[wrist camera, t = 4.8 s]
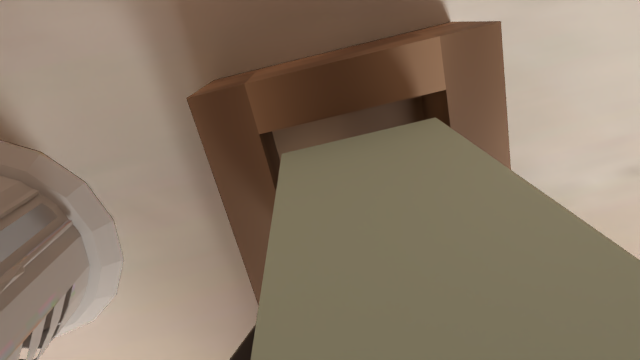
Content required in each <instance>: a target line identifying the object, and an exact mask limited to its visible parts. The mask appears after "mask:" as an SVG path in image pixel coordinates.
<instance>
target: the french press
mask: <svg viewBox="0 0 640 360" xmlns="http://www.w3.org/2000/svg"><path fill="white" fill-rule="evenodd" d="M123 261H124V258H123V255H122V251H121V247H120V243H119V239H118V235H117V231H116V228H115V224H114V220H113V219H112V217H111V216H110V215H109V213H108V212H107V211H106V209H105V208H104V207H103V205H102V204H101V203H100V201H99V200H98V199H97V197H96V196H95V195H94V193H93V192H92V191H91V189H90V188H89V187H88V185H87V184H86V183H85V182H84V181H83V180H81V179H80V178H78V177H77V176H75V175H74V174H72V173H71V172H69V171H68V170H67V169H65V168H64V167H62V166H61V165H59V164H58V163H56V162H55V161H53V160H52V159H50V158H49V157H47V156H46V155H45V154H43V153H42V152H39V151H35V150H32V149H28V148H25V147H21V146H18V145H15V144H11V143H8V142H4V141H1V140H0V360H23V359H19V356H20V352H21V348H29V351H28V355H27V359H26V360H38V359H39V357H40V356H41V355H42V354H43V352H44V351H45V350H46V348H47V347H48V345H49V343H50V342H51V341H52V340H53V339H54V338H55V337H60V336H62V335H64V334H66V333H69V332H71V331H73V330H75V329H77V328H80V327H82V326H84V325H86V324H89V323H91V322H93V321H94V320H95V319H96V318H97V317H98V315H99V314H100V313H101V312H102V311H103V310H104V308H105V307H106V306H107V305H108V304H109V303H110V301H111V300H112V299H113V298H114V297H115V296H116V294H117V289H118V285H119V280H120V275H121V271H122V266H123ZM37 349H41V350H40V352H39V354H38V357H37V358H36V359H33V358H34V356H35V353H36V351H37Z"/></svg>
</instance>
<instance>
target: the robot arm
mask: <svg viewBox="0 0 640 360" xmlns="http://www.w3.org/2000/svg"><path fill="white" fill-rule="evenodd" d="M255 327H256V325H255V326H254V327H253V329H252V330H251V331H250V333H249V334H248V335H247V337H246V338H245V339H244V341H243V342H242V343H241V345H240V346H239V348H238V349H237V350H236V352H235V353H234V354H233V356H232V357H231V358H230V360H251V354H252V347H253V340H254V334H255Z"/></svg>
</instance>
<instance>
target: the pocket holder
mask: <svg viewBox="0 0 640 360" xmlns="http://www.w3.org/2000/svg"><path fill="white" fill-rule="evenodd" d="M187 101H188V104H189V107H190V110H191V113H192V115H193V118H194V121H195V124H196V127H197V130H198V133H199V136H200V138H201V141H202V144H203V147H204V150H205V153H206V156H207V159H208V161H209V164H210V167H211V170H212V173H213V176H214V179H215V181H216V184H217V187H218V190H219V193H220V196H221V199H222V202H223V204H224V207H225V210H226V213H227V216H228V219H229V222H230V225H231V227H232V230H233V233H234V236H235V239H236V242H237V245H238V247H239V250H240V253H241V256H242V259H243V262H244V265H245V268H246V270H247V273H248V276H249V279H250V282H251V285H252V288H253V291H254V293H255V296H256V299H257V302H258V305H259V301H260V294H261V288H262V281H263V274H264V268H265V261H266V255H267V248H268V241H269V235H270V228H271V222H272V215H273V208H274V202H275V195H276V189H277V182H278V175H279V169H280V162H281V156H282V154H283V153H287V152H291V151H295V150H300V149H304V148H308V147H312V146H317V145H321V144H325V143H329V142H334V141H338V140H342V139H346V138H350V137H355V136H359V135H363V134H367V133H372V132H376V131H380V130H384V129H389V128H393V127H397V126H401V125H406V124H410V123H414V122H418V121H422V120H427V119H431V118H435V117H436V118H437V119H439V120H440V121H442V122H443V123H444V124H446V125H447V126H449V127H450V128H452V129H453V130H454V131H456V132H457V133H459V134H460V135H462V136H463V137H464V138H466V139H467V140H469V141H470V142H472V143H473V144H474V145H476V146H477V147H479V148H480V149H482V150H483V151H484V152H486V153H487V154H489V155H490V156H492V157H493V158H494V159H496V160H497V161H499V162H500V163H502V164H503V165H504V166H506V167H507V168H509V169H510V170H511V165H510V151H509V136H508V121H507V107H506V92H505V77H504V63H503V48H502V33H501V21H488V22H449V23H445V24H441V25H437V26H433V27H429V28H425V29H421V30H416V31H412V32H408V33H404V34H400V35H396V36H392V37H388V38H384V39H380V40H376V41H372V42H368V43H363V44H359V45H355V46H351V47H347V48H343V49H339V50H335V51H331V52H327V53H323V54H319V55H315V56H311V57H306V58H302V59H298V60H294V61H290V62H286V63H282V64H278V65H274V66H270V67H266V68H262V69H258V70H254V71H249V72H245V73H241V74H237V75H233V76H229V77H225V78H221V79H217V80H214V81H212V82H211V83H209V84H208V85H206V86H204V87H203V88H201V89H200V90H198V91H197V92H195V93H194V94H192V95H191V96H189V97H187Z"/></svg>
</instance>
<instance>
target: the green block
mask: <svg viewBox="0 0 640 360" xmlns="http://www.w3.org/2000/svg"><path fill="white" fill-rule="evenodd" d="M251 360H640V260H639V259H637V258H636V257H634V256H633V255H632V254H630V253H629V252H627V251H626V250H624V249H623V248H622V247H620V246H619V245H617V244H616V243H614V242H613V241H612V240H610V239H609V238H607V237H606V236H604V235H603V234H602V233H600V232H599V231H597V230H596V229H594V228H593V227H592V226H590V225H589V224H587V223H586V222H584V221H583V220H582V219H580V218H579V217H577V216H576V215H574V214H573V213H572V212H570V211H569V210H567V209H566V208H564V207H563V206H562V205H560V204H559V203H557V202H556V201H554V200H553V199H552V198H550V197H549V196H547V195H546V194H544V193H543V192H542V191H540V190H539V189H537V188H536V187H534V186H533V185H532V184H530V183H529V182H527V181H526V180H524V179H523V178H522V177H520V176H519V175H517V174H516V173H514V172H513V171H512V170H510V169H509V168H507V167H506V166H504V165H503V164H502V163H500V162H499V161H497V160H496V159H494V158H493V157H492V156H490V155H489V154H487V153H486V152H484V151H483V150H482V149H480V148H479V147H477V146H476V145H474V144H473V143H472V142H470V141H469V140H467V139H466V138H464V137H463V136H462V135H460V134H459V133H457V132H456V131H454V130H453V129H452V128H450V127H449V126H447V125H446V124H444V123H443V122H442V121H440V120H439V119H437V118H436V117H435V118H431V119H427V120H422V121H418V122H414V123H410V124H406V125H401V126H397V127H393V128H389V129H384V130H380V131H376V132H372V133H367V134H363V135H359V136H355V137H350V138H346V139H342V140H338V141H334V142H329V143H325V144H321V145H317V146H312V147H308V148H304V149H300V150H295V151H291V152H287V153H283V154H282V156H281V162H280V169H279V175H278V182H277V189H276V195H275V202H274V208H273V215H272V222H271V228H270V235H269V241H268V248H267V255H266V261H265V268H264V274H263V281H262V288H261V294H260V301H259V307H258V314H257V321H256V327H255V334H254V340H253V347H252V354H251Z"/></svg>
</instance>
